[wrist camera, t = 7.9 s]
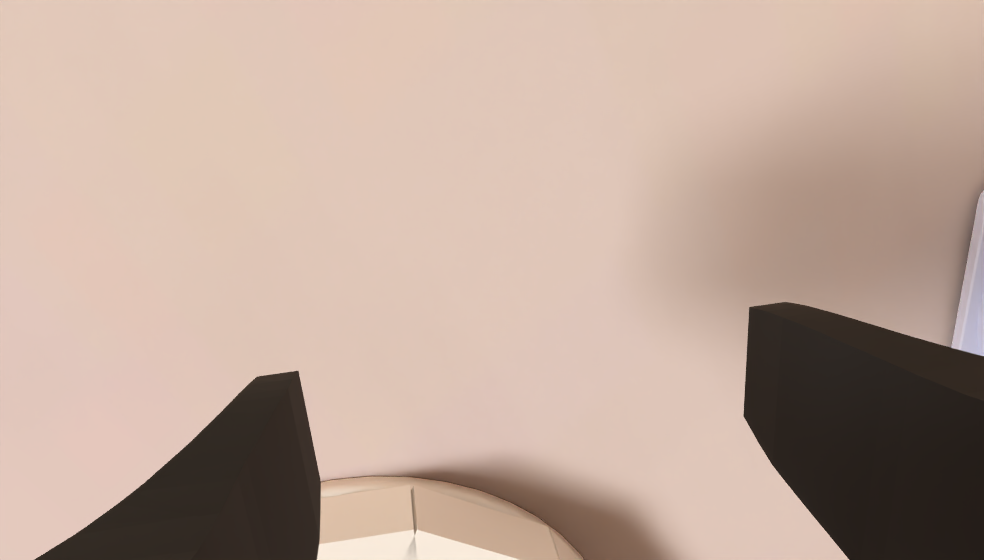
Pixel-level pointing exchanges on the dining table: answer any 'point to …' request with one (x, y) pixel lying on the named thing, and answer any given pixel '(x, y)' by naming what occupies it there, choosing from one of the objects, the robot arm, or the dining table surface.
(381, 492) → the ring tray
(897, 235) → the dining table surface
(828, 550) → the dining table surface
